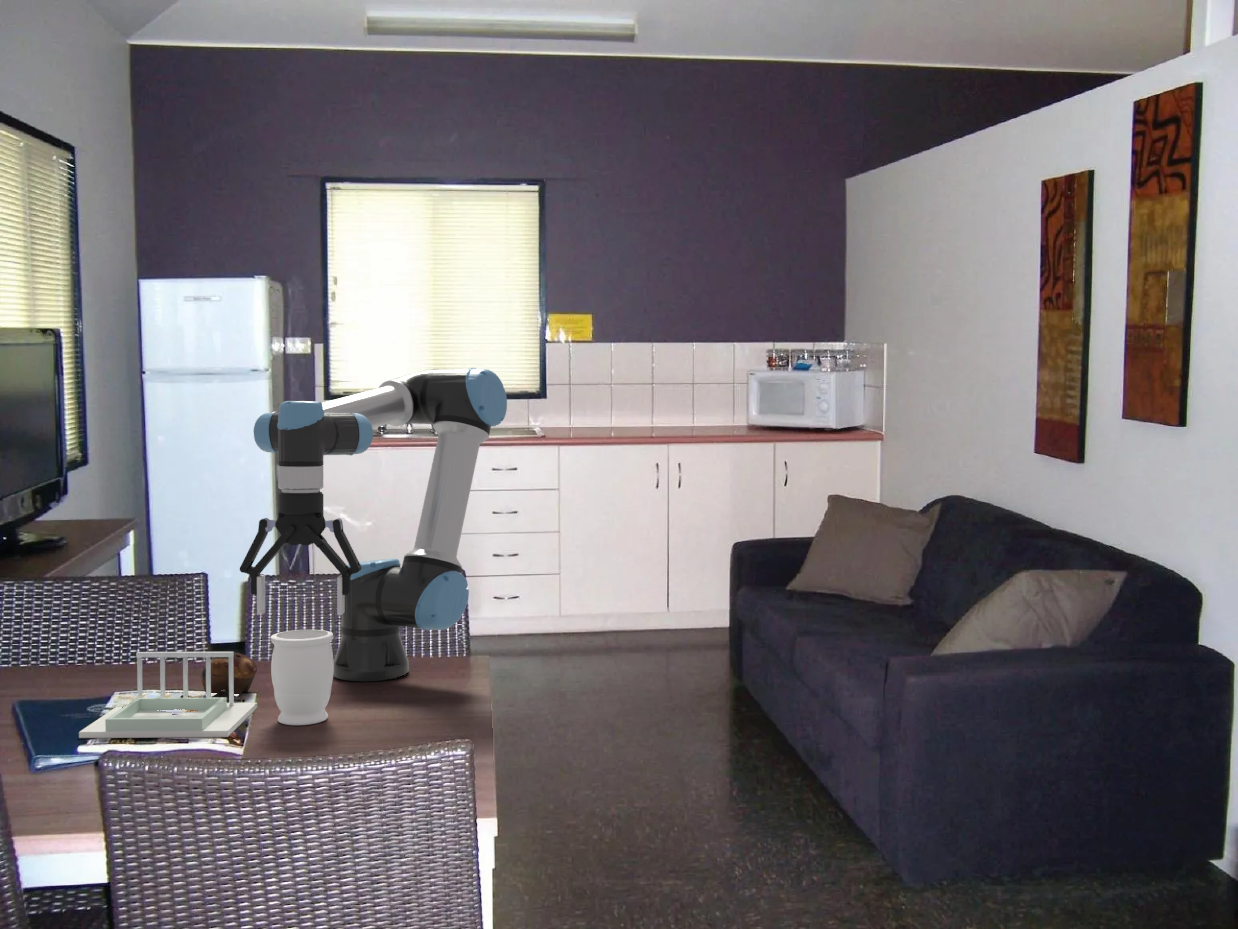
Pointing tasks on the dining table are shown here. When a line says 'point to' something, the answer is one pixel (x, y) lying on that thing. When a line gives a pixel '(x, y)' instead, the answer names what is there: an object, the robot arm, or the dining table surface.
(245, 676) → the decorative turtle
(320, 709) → the jar
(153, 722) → the dish rack
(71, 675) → the dining table surface
